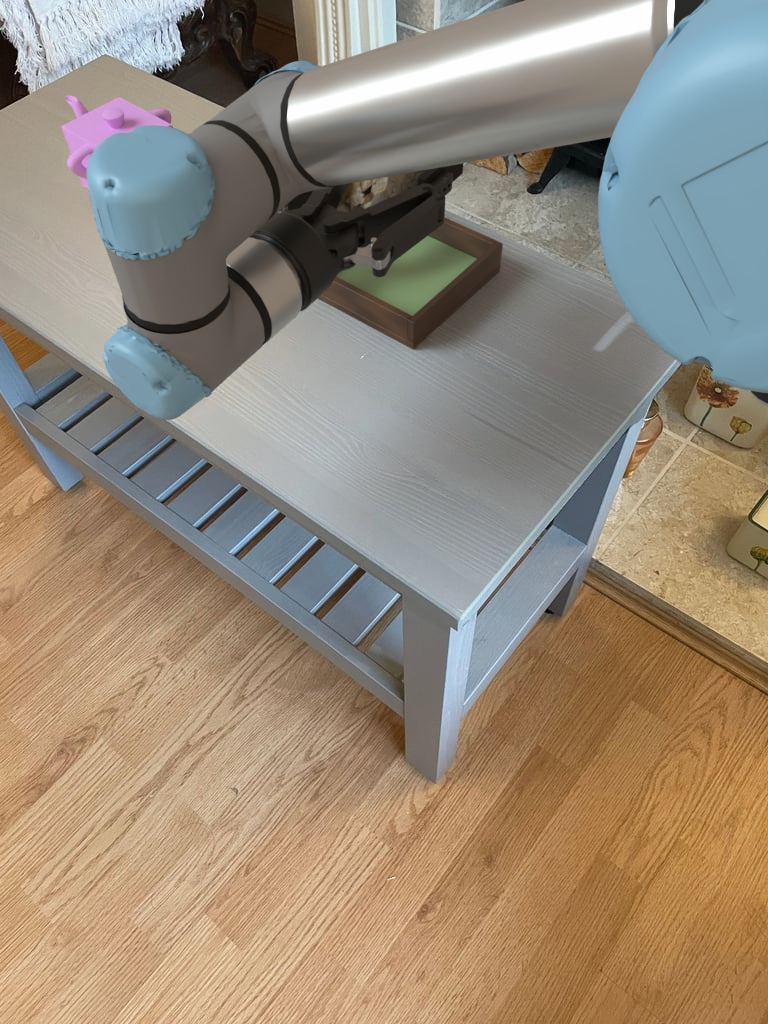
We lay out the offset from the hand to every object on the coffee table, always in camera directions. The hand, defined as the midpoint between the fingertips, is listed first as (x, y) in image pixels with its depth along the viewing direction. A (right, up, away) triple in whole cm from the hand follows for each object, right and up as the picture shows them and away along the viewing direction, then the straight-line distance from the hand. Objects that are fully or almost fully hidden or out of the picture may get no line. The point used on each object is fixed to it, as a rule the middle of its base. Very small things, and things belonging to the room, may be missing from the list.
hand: (428, 147), depth 76 cm
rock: (-3, -7, +3) cm, 8 cm away
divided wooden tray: (-9, -4, +20) cm, 22 cm away
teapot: (-36, +6, +28) cm, 46 cm away
